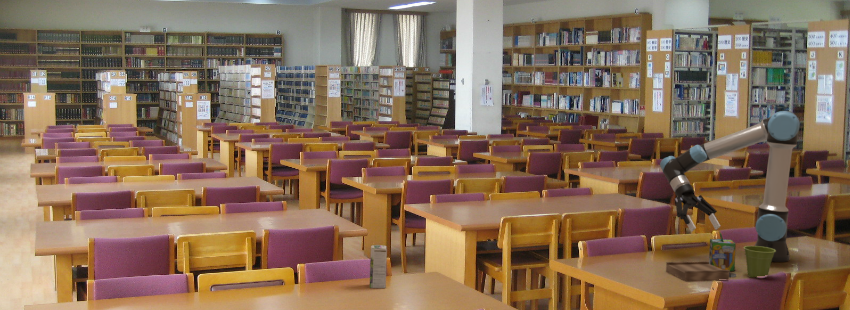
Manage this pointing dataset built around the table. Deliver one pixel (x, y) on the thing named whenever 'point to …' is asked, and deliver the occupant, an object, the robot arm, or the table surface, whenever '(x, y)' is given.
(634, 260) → the table surface
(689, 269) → the tray
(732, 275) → the grey stepped bar
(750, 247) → the plant pot
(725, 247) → the chalk box
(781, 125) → the robot arm
